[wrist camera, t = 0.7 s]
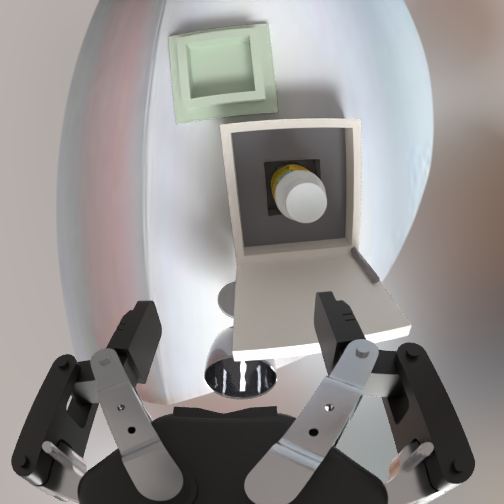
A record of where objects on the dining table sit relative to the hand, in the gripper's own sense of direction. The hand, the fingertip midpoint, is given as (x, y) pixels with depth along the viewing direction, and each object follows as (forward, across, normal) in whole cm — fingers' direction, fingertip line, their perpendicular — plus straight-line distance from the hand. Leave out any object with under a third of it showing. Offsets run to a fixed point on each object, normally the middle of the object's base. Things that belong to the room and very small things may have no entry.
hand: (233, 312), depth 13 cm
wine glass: (+24, +1, +16) cm, 28 cm away
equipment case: (+23, -6, -1) cm, 24 cm away
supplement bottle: (+23, -6, -1) cm, 24 cm away
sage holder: (+23, +1, -16) cm, 28 cm away
